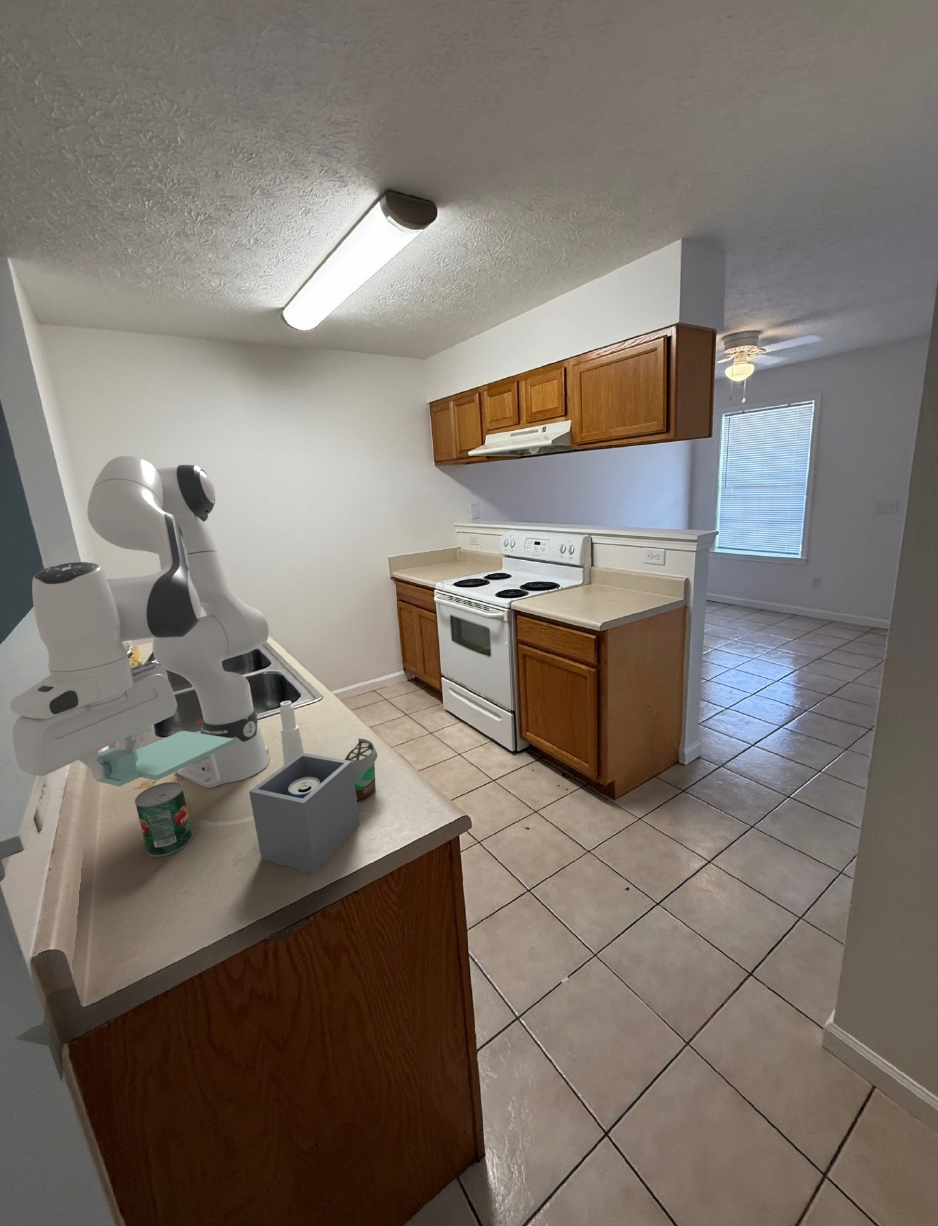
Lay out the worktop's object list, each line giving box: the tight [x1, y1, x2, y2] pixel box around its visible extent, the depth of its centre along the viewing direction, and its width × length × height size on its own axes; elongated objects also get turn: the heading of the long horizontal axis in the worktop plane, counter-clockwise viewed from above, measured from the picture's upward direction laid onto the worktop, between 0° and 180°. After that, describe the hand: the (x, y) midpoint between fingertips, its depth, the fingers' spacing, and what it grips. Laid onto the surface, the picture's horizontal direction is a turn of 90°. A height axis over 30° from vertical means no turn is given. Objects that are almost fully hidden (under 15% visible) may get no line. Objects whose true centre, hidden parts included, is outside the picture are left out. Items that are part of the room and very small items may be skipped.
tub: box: [248, 752, 361, 874], centre depth 95 cm, size 12×14×14 cm
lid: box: [94, 730, 234, 787], centre depth 80 cm, size 12×17×4 cm
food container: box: [344, 738, 378, 804], centre depth 110 cm, size 12×6×10 cm, turn 168°
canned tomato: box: [134, 781, 194, 858], centre depth 97 cm, size 8×8×11 cm
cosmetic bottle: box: [279, 700, 305, 766], centre depth 110 cm, size 6×6×22 cm
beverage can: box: [287, 777, 321, 799], centre depth 95 cm, size 6×6×12 cm
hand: (116, 769), depth 73 cm, fingers closed on lid, 3 cm apart
